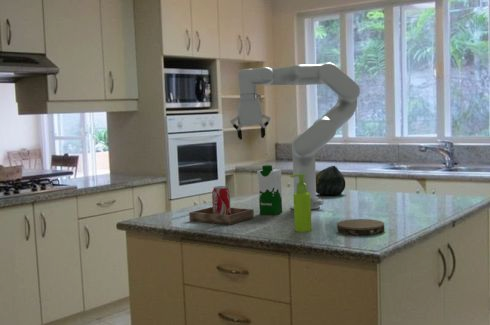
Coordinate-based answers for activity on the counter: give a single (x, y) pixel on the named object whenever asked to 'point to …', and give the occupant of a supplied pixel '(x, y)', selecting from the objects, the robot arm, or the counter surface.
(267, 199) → the milk carton
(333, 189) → the squash
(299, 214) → the soap dispenser
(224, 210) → the soda can
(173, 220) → the counter surface
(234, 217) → the walnut tray
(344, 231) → the brown round disc
